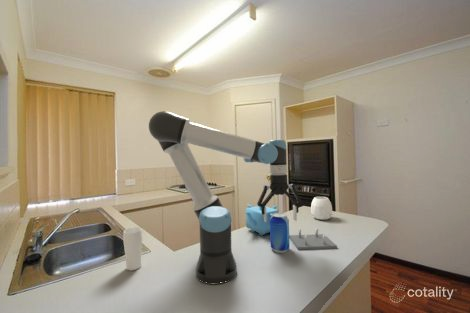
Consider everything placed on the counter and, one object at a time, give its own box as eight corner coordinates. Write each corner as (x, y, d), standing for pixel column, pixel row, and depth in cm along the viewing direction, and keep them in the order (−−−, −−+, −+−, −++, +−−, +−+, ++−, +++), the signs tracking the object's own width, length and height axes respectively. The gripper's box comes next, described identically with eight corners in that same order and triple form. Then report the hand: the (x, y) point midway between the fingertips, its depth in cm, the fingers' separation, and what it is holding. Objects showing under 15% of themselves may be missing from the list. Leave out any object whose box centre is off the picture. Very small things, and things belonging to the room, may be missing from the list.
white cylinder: (125, 265, 88) (123, 228, 88) (143, 261, 91) (142, 226, 90) (123, 274, 82) (122, 234, 81) (143, 269, 84) (142, 231, 84)
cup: (330, 222, 134) (330, 201, 134) (308, 219, 141) (308, 198, 141) (334, 217, 145) (333, 197, 145) (313, 214, 152) (313, 195, 152)
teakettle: (279, 238, 112) (278, 210, 111) (242, 236, 115) (242, 209, 115) (278, 226, 130) (278, 201, 130) (247, 225, 133) (246, 201, 133)
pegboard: (298, 249, 98) (297, 238, 98) (289, 237, 112) (289, 227, 112) (337, 248, 99) (336, 237, 99) (323, 236, 113) (323, 226, 113)
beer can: (291, 248, 100) (291, 213, 100) (285, 255, 93) (285, 218, 93) (274, 244, 105) (274, 211, 105) (267, 251, 98) (266, 215, 98)
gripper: (252, 176, 94) (253, 224, 95) (308, 173, 95) (310, 221, 96) (250, 174, 102) (251, 219, 102) (303, 172, 103) (304, 216, 103)
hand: (280, 220), depth 99 cm, fingers open, 13 cm apart
